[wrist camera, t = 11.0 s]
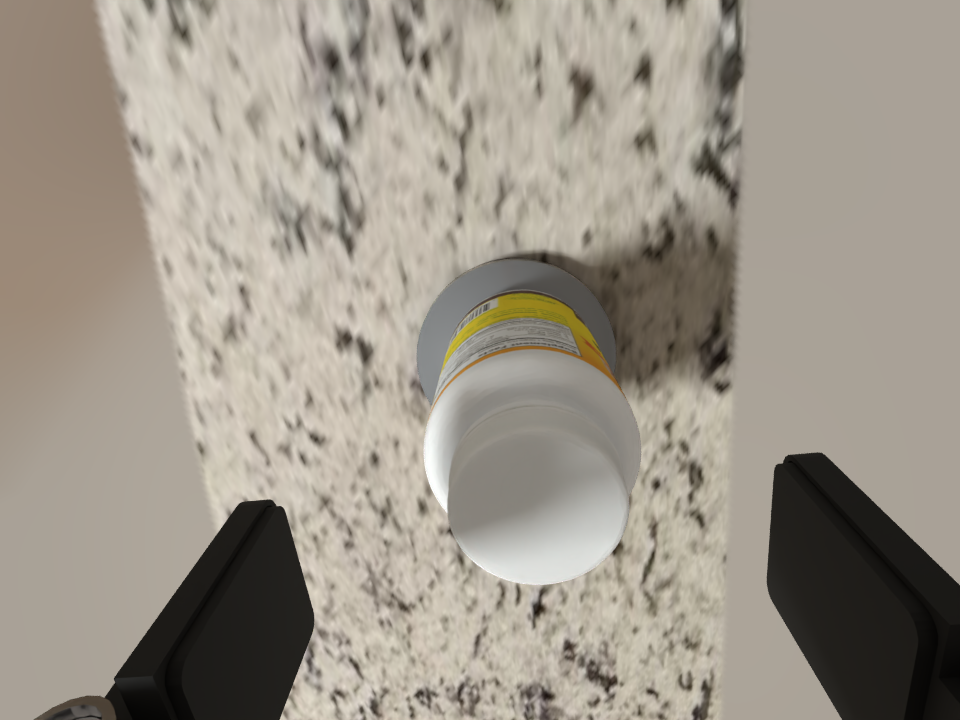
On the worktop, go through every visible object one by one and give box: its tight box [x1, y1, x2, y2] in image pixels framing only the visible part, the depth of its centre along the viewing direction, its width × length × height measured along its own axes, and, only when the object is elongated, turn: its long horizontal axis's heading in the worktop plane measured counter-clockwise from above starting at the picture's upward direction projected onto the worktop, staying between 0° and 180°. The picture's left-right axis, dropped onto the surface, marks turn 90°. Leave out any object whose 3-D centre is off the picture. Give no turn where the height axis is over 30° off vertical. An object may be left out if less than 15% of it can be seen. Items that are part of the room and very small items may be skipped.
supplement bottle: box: [424, 290, 641, 585], centre depth 17 cm, size 6×6×10 cm
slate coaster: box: [417, 258, 616, 406], centre depth 22 cm, size 8×8×1 cm
